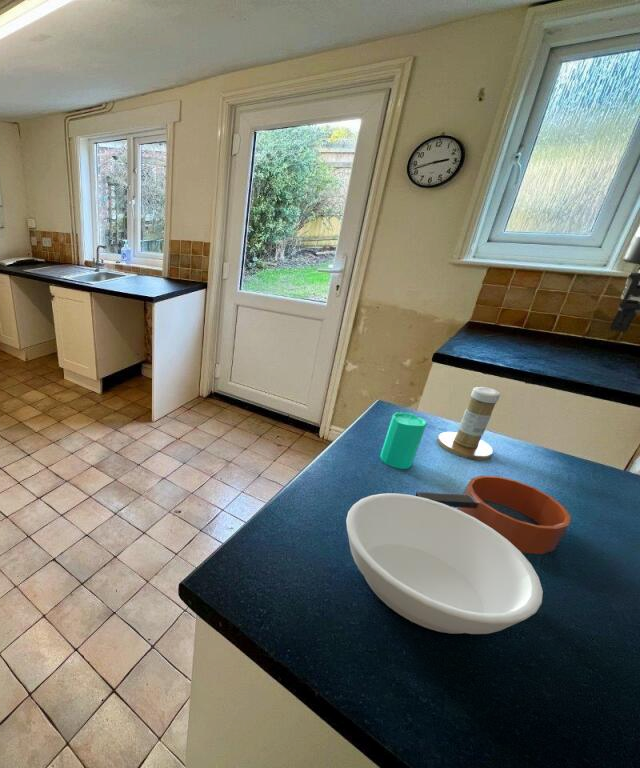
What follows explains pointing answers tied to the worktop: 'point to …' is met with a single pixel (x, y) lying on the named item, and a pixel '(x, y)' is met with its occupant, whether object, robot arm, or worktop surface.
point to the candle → (402, 440)
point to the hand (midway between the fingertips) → (619, 326)
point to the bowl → (441, 565)
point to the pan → (518, 498)
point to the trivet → (476, 453)
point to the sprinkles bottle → (476, 416)
